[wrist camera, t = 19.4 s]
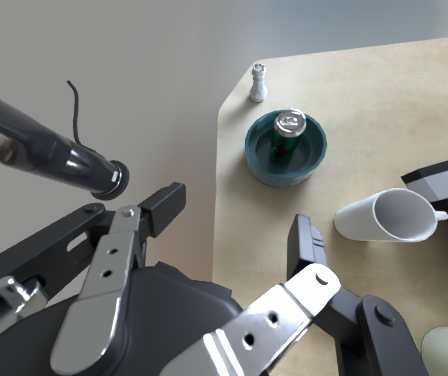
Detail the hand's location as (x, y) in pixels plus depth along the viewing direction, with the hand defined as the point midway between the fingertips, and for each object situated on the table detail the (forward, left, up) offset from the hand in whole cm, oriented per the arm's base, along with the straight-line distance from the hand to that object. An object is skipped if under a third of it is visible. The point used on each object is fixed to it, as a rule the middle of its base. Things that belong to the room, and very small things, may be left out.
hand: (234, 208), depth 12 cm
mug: (+16, +14, -25) cm, 33 cm away
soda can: (-4, +18, -24) cm, 30 cm away
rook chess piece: (-18, +30, -25) cm, 43 cm away
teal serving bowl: (-4, +18, -25) cm, 31 cm away
